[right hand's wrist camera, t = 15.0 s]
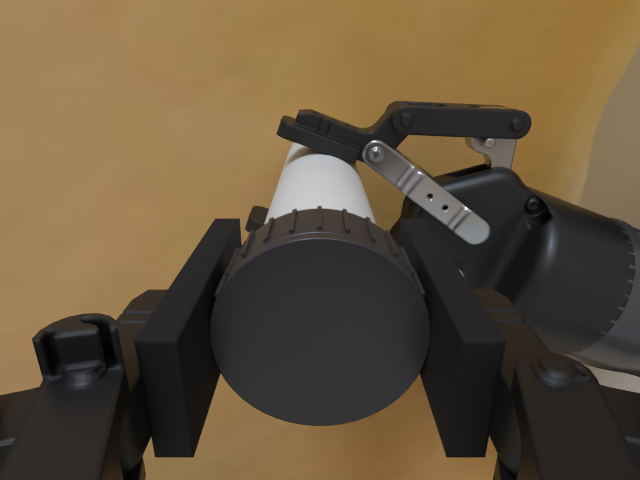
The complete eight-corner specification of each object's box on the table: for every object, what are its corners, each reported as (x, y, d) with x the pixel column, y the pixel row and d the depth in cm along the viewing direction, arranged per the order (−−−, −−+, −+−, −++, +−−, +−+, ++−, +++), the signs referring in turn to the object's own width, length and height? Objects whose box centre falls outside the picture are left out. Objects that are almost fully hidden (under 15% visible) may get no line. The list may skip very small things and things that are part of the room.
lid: (313, 404, 13) (312, 461, 11) (183, 289, 12) (157, 332, 10) (454, 303, 12) (480, 348, 10) (327, 161, 11) (330, 183, 9)
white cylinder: (274, 149, 27) (201, 293, 10) (333, 117, 27) (358, 214, 10) (307, 205, 29) (288, 413, 12) (364, 176, 28) (431, 352, 11)
